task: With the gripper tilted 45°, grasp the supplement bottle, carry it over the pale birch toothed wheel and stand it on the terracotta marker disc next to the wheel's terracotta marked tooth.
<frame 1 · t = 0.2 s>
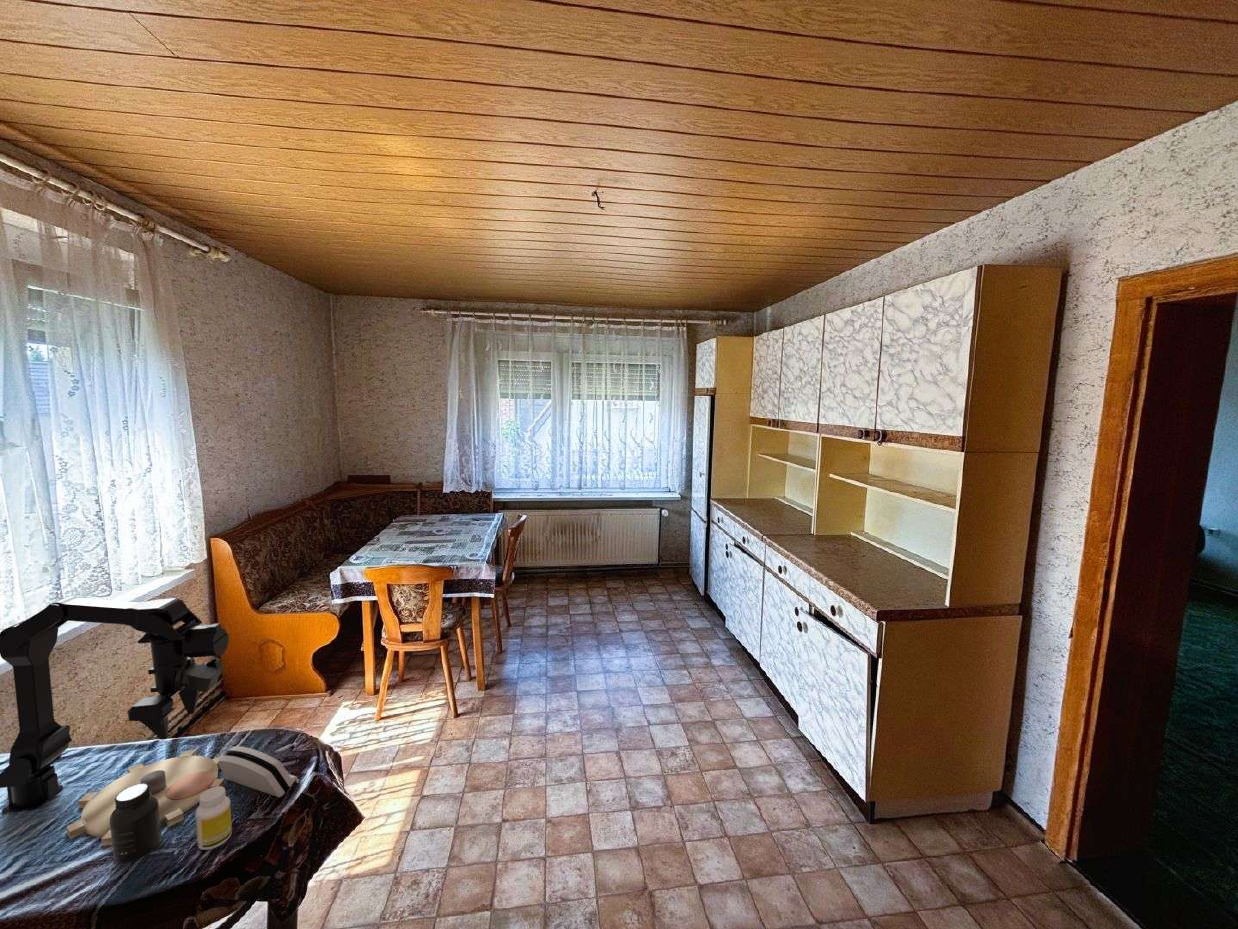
hand: (178, 726, 114), 14 cm above the table, tool pointing down, fingers open, 9 cm apart
supplement bottle 2: (215, 840, 102), on the table
sprocket wheel: (154, 796, 113), on the table
supplement bottle: (138, 850, 99), on the table
white arched block: (257, 786, 117), on the table
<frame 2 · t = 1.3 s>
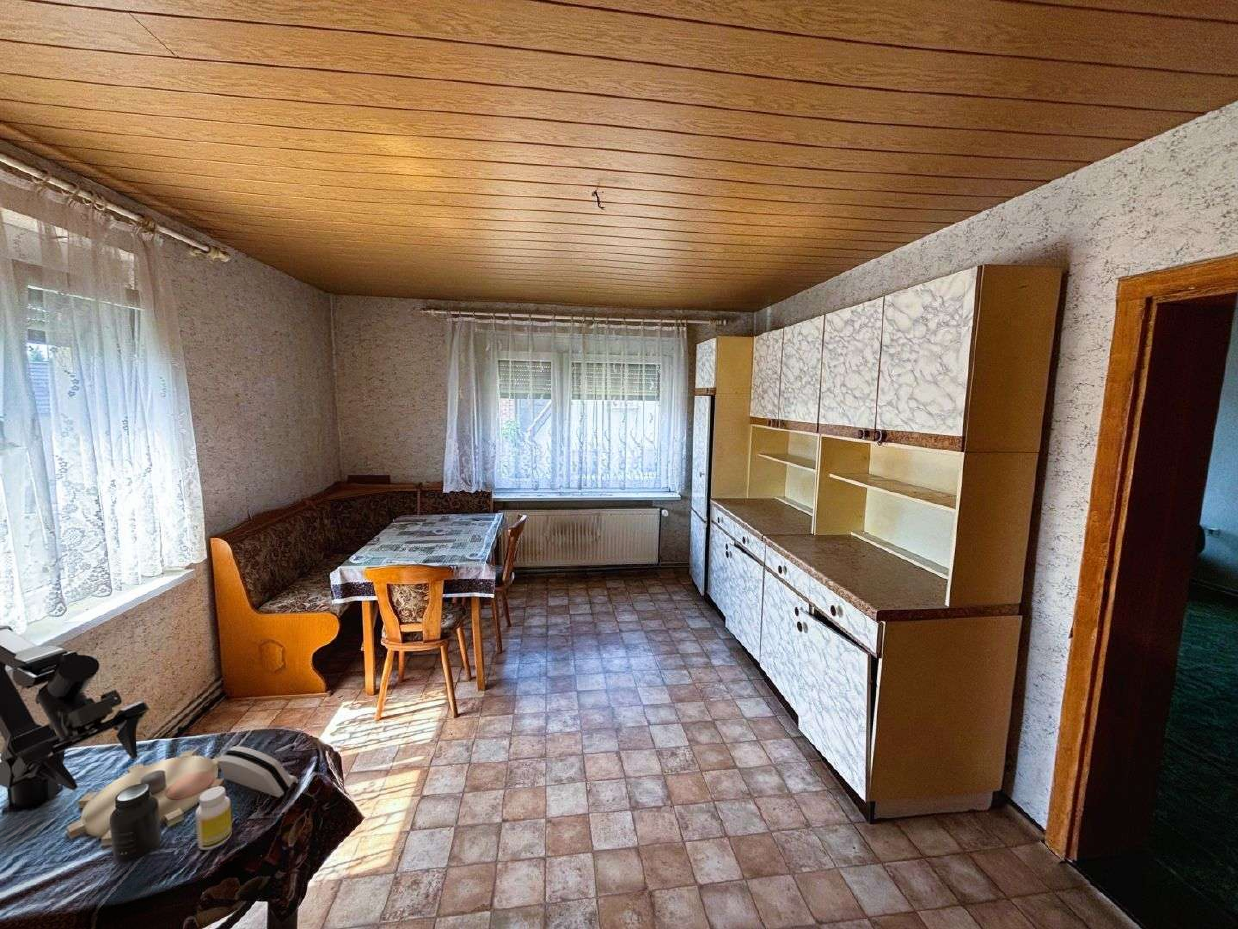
hand: (106, 772, 101), 14 cm above the table, tool tilted 45°, fingers open, 9 cm apart
nothing on the table moved.
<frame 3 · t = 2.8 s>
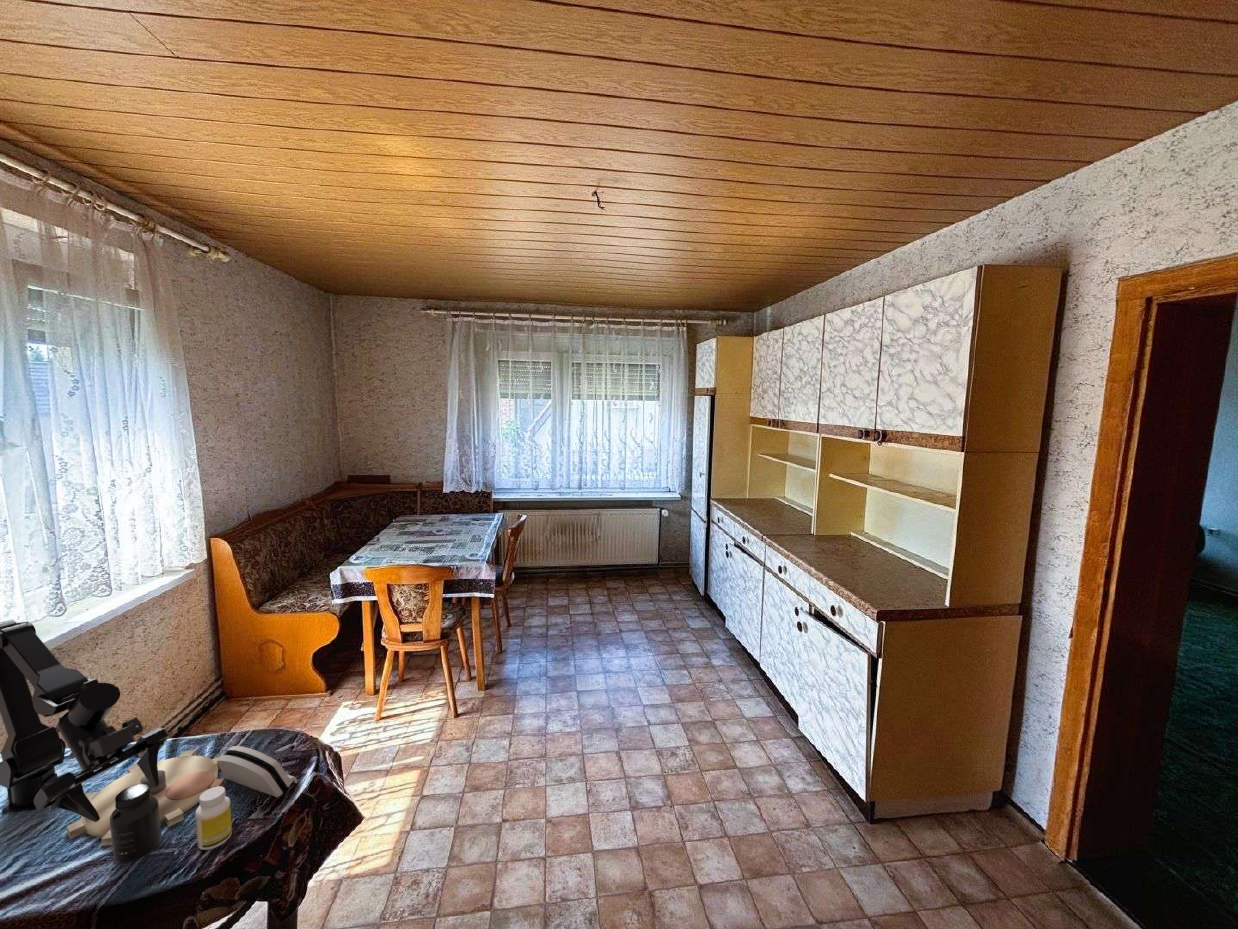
hand: (128, 802, 99), 9 cm above the table, tool tilted 45°, fingers open, 9 cm apart
nothing on the table moved.
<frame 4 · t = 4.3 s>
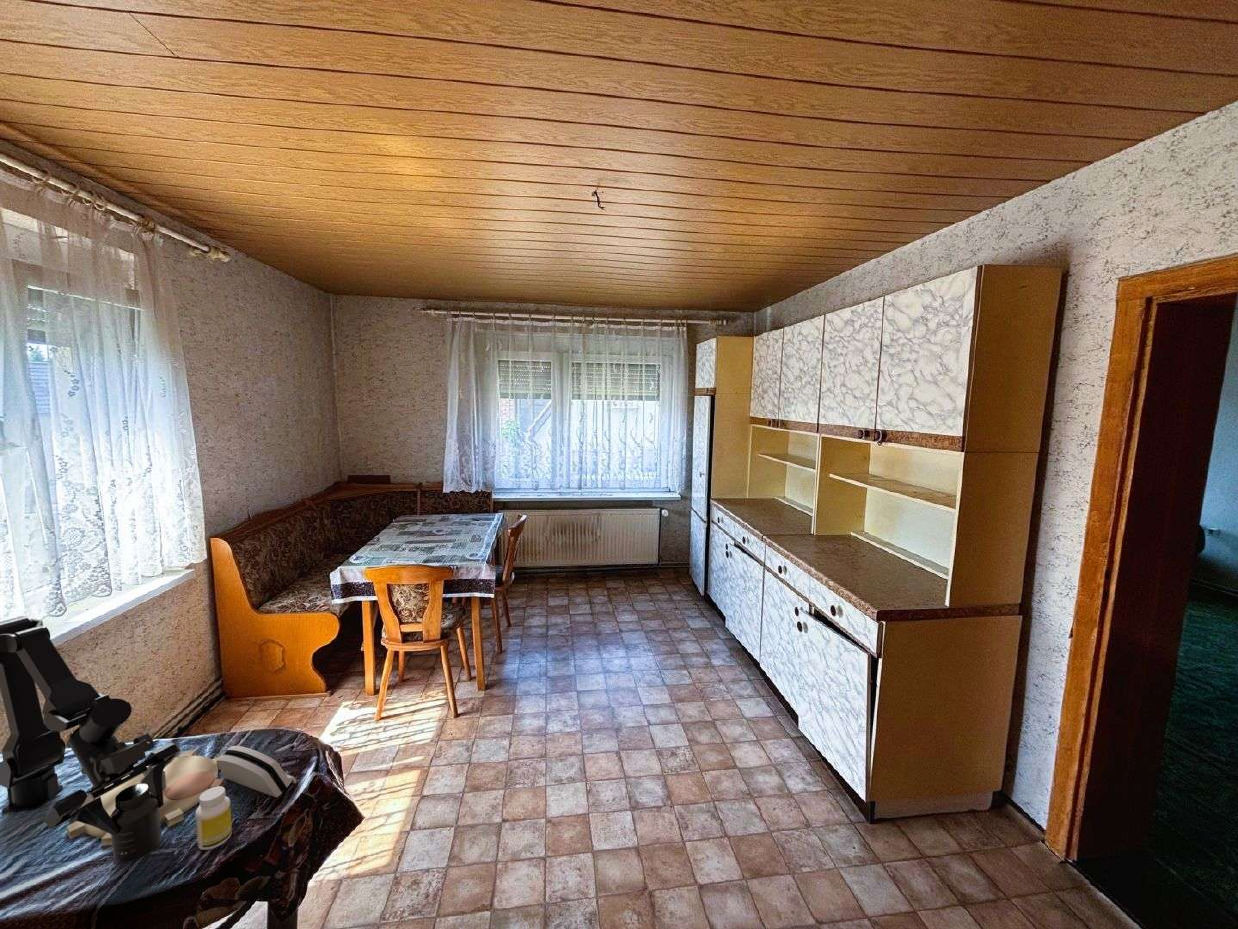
hand: (139, 819, 98), 7 cm above the table, tool tilted 45°, fingers closed on supplement bottle, 7 cm apart
supplement bottle: (138, 850, 99), on the table, touching gripper
everything else where it was.
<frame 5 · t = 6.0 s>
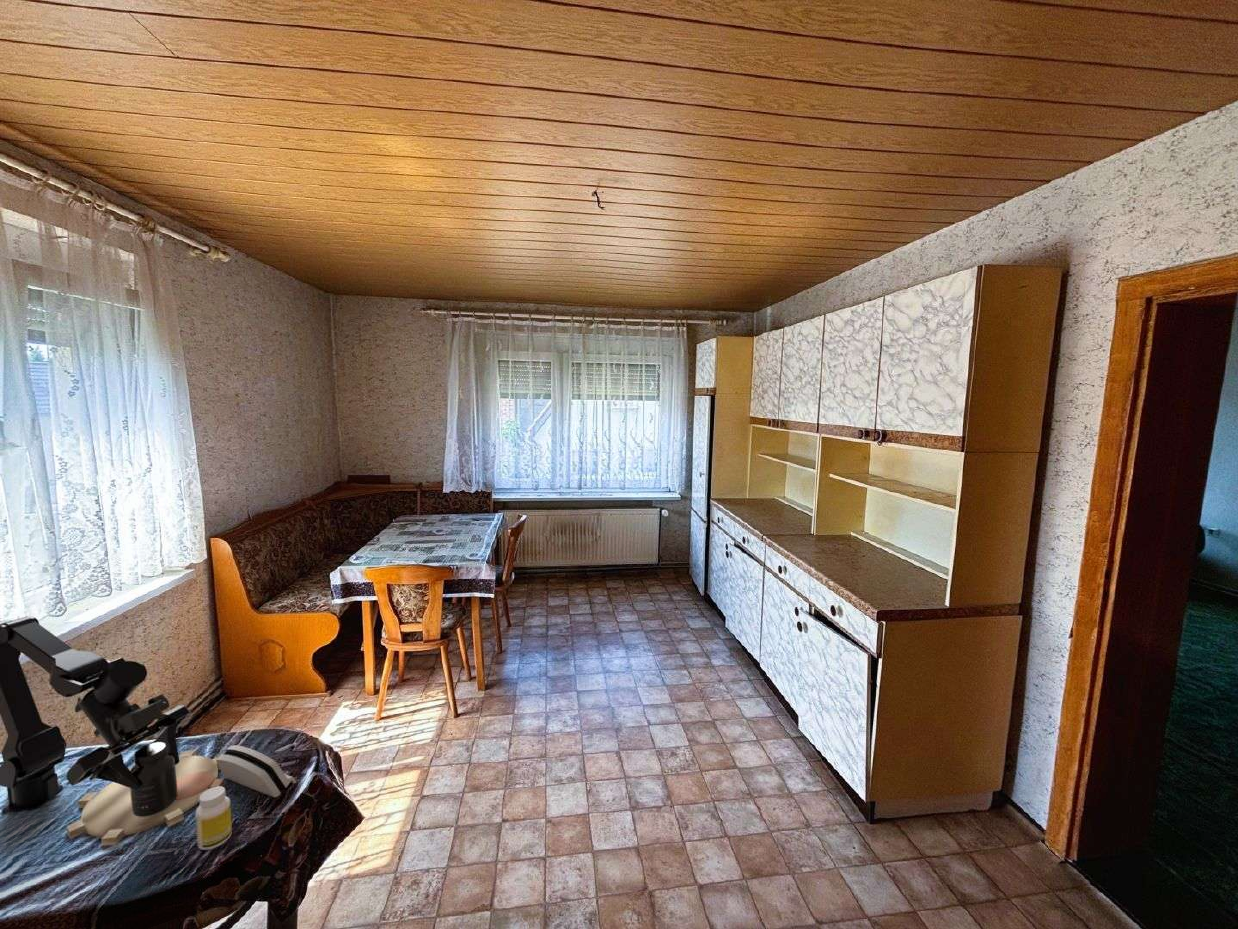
hand: (158, 775, 102), 12 cm above the table, tool tilted 45°, fingers closed on supplement bottle, 7 cm apart
supplement bottle: (155, 806, 103), point 5 cm above the table, touching gripper
everything else where it was.
when the fingers open (9 cm above the table, at t = 8.1 s): supplement bottle stays where it is, resting on sprocket wheel.
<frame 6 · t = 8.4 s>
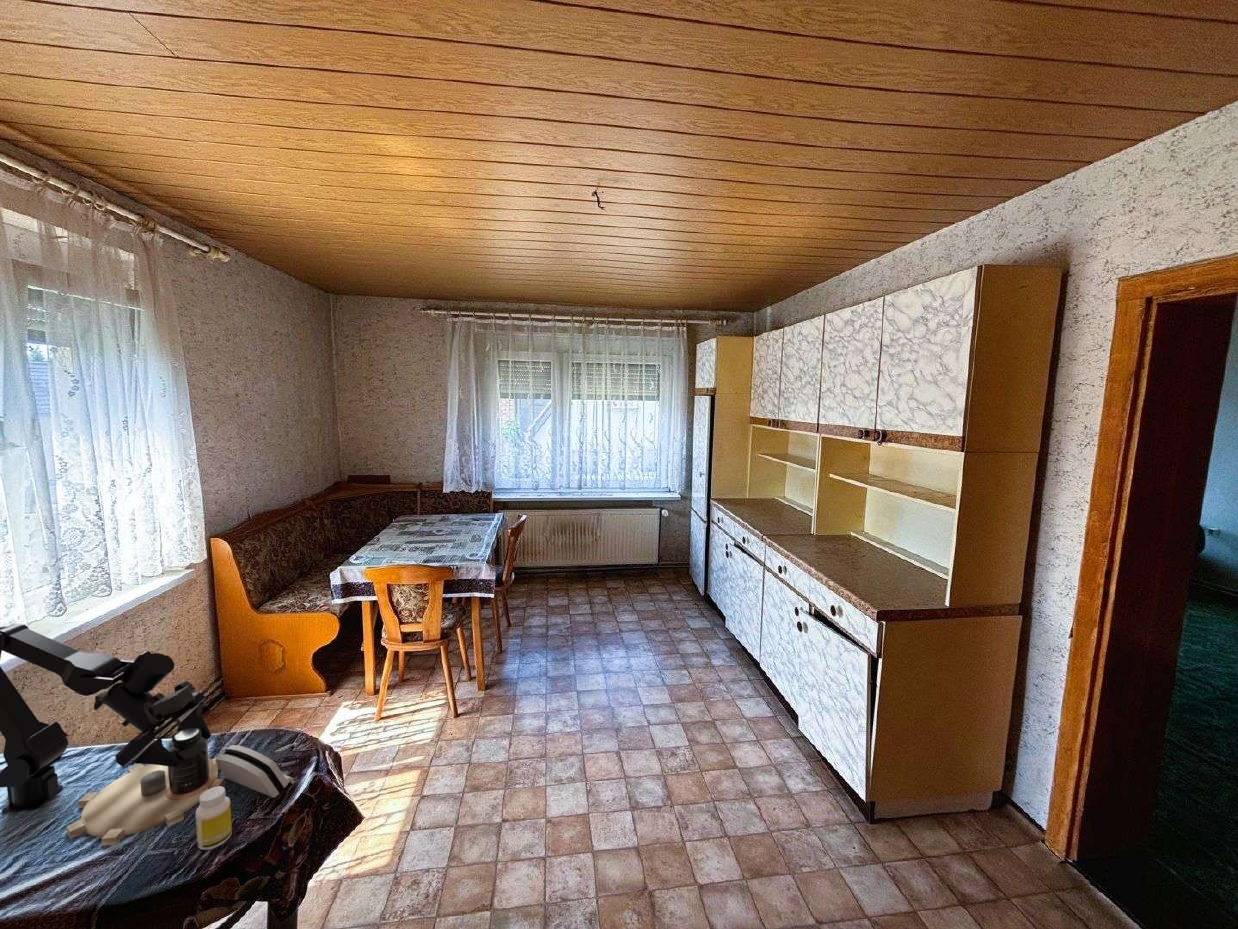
hand: (195, 751, 113), 10 cm above the table, tool tilted 45°, fingers open, 9 cm apart
supplement bottle: (190, 785, 114), point 2 cm above the table, touching sprocket wheel
everything else where it was.
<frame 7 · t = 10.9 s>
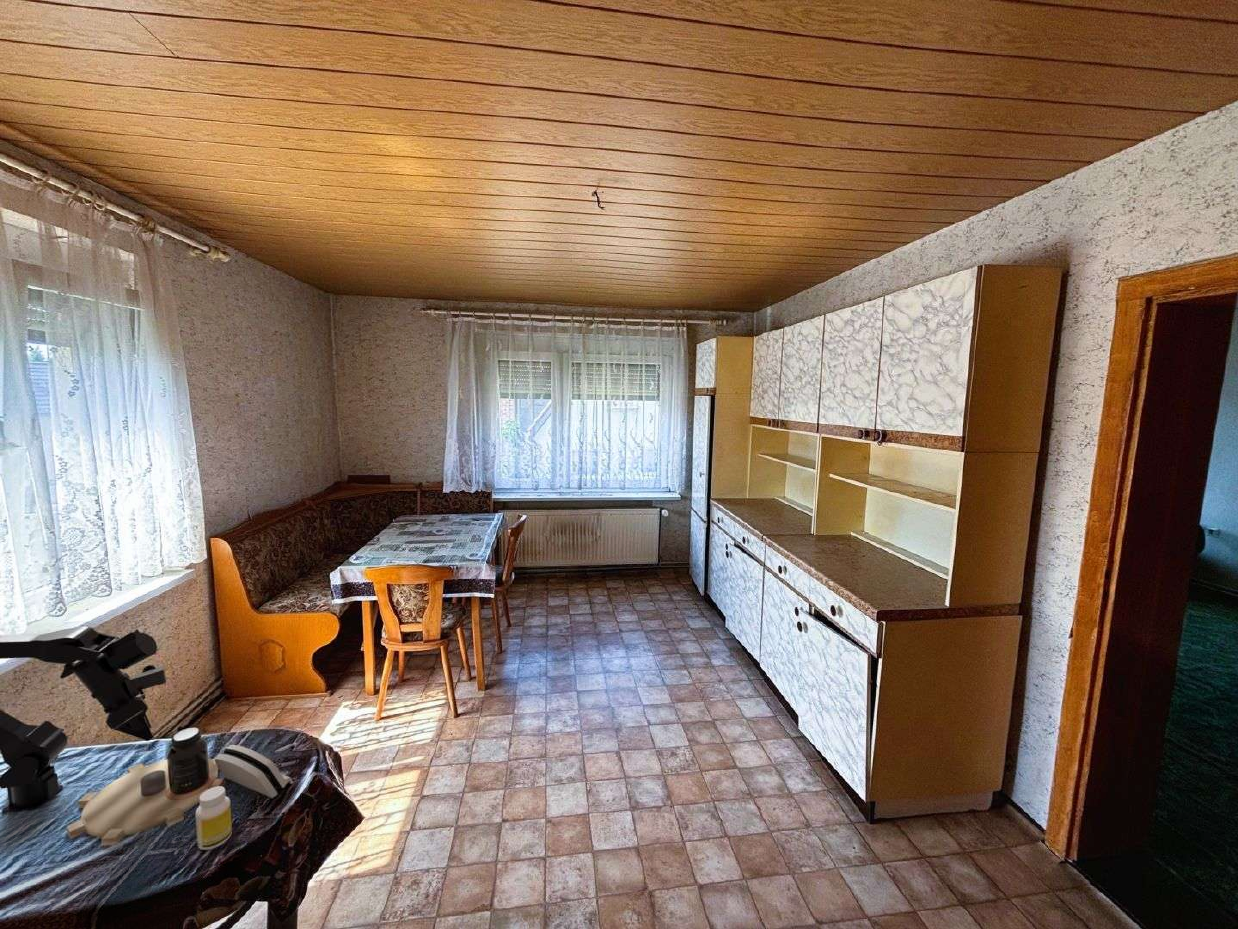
hand: (149, 734, 117), 11 cm above the table, tool tilted 25°, fingers open, 9 cm apart
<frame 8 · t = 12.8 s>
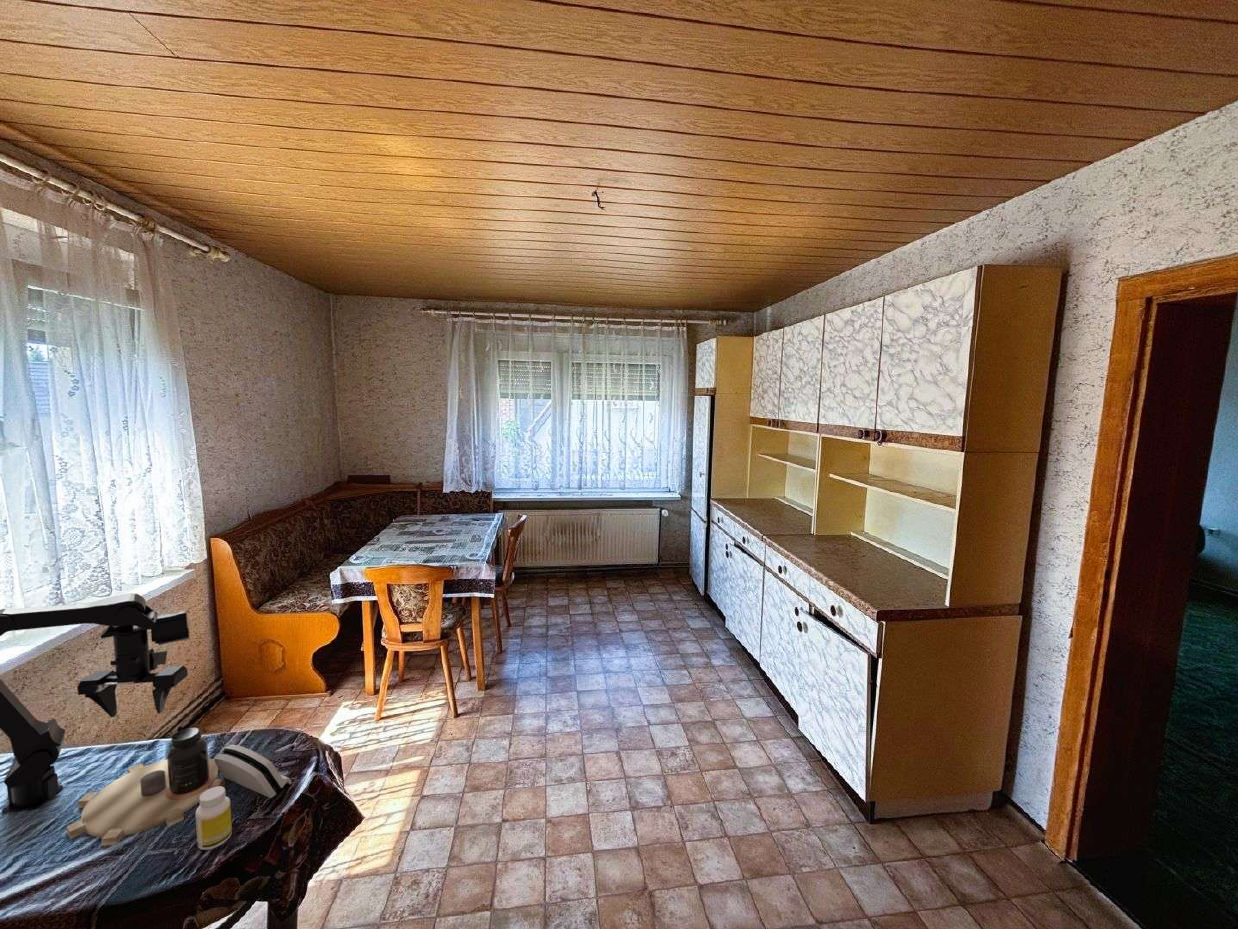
hand: (137, 714, 120), 13 cm above the table, tool pointing down, fingers open, 9 cm apart
at the end: supplement bottle 0.1 cm from the target spot on the sprocket wheel, point 1.5 cm above the sprocket wheel's base; supplement bottle tilted 1°; the gripper is holding nothing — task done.
